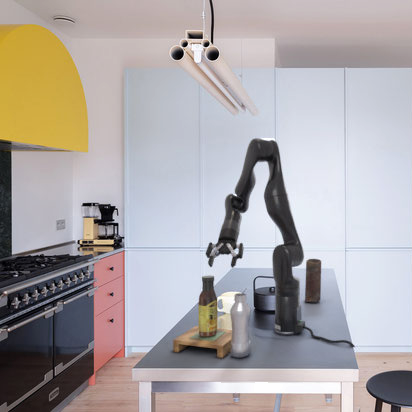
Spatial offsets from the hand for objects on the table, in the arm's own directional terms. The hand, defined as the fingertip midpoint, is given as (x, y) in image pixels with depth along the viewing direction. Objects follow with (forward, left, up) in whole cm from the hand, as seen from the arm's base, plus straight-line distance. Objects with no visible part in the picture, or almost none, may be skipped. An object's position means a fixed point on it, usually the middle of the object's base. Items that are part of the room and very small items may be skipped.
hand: (221, 266), depth 159 cm
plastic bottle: (-18, +22, -24) cm, 38 cm away
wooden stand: (-5, +19, -24) cm, 31 cm away
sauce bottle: (-5, +18, -20) cm, 28 cm away
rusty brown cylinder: (-25, -44, -24) cm, 56 cm away
